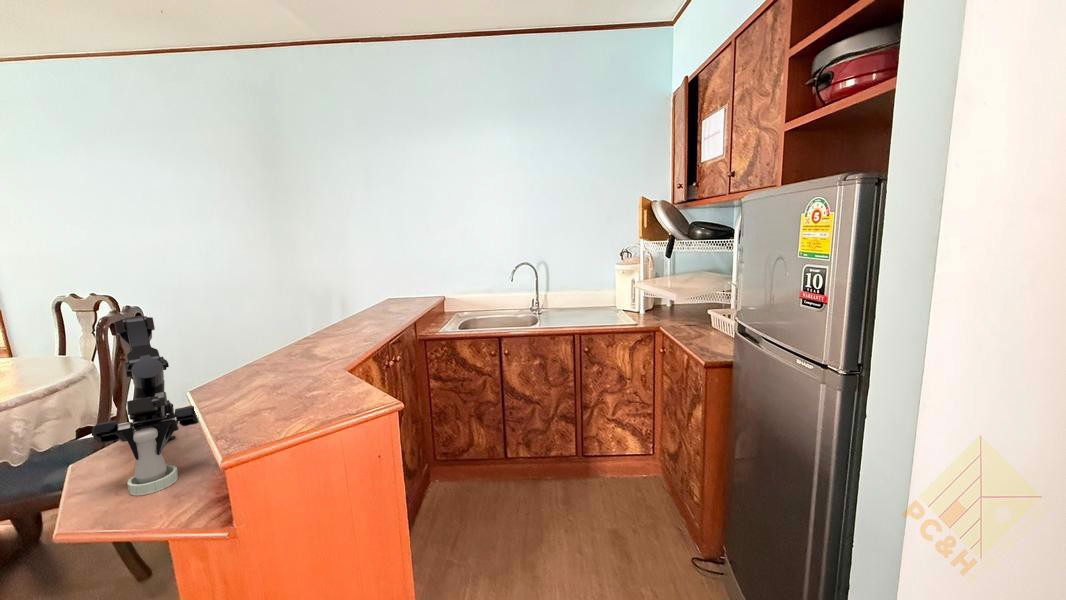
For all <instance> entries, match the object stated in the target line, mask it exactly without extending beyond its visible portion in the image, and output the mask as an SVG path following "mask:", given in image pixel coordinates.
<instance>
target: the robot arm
mask: <svg viewBox="0 0 1066 600" xmlns="http://www.w3.org/2000/svg"><path fill="white" fill-rule="evenodd" d="M114 328H115V333H116V336H120V341H121V343H122V344H123V345H125V346H126V347H128V348H129V350H130V351H129V352H128V353H126V359H127V362H123V364H124V370H125V376H126V378H130V380H132V382H133V386H134V391H133V393H134V395H133V399H132V400H128V401H127V402H126V405H127V406H126V408H127V415H128V416H129V419H130V421H128V422H122V423H119V422H118V421H117V419H115V420H110V421H105V422H100V423H96V424H95V425H94V426H93V427H92V429H91V436H92V437H93V438H94V439H95V440H96V441H97V443H98V444H105V443H110V442H116V441H118V440H120V442H123V443H124V442H127V443H128V445H129V447H130V449H131V452H132V454H133V456H134V458H135V461H136V460H138V451H137V446H138V443H136V442H134V439H133V436H134V434H135V433H136V432H137V431H139V430H141V429H145V428H155V429H157V431H158V436H157V437H156V438H155V440H156V442H157V455H160V454H162V452H163V450H164V448H165V446H166V444H167V443H168V442H170V441H171V440H174V439H176V438H177V437H176V435H173V433H174V432H176V431H179V429H180V428H179V427H180V426H182V427H188V426H192V425H197V424H198V423H199V422H200V421H199V417H198V418H197V415H196V413H195V411H194V407H195V406H194V405H189V406H184V407H178V408H175V409H174V403H172V402H171V401H170V399H168V397H167V392H166V391H165V379H164V378H165V373H164V371H166V370H167V368H169V367H170V365H169V361H168V360H167V359H166V358H164V356H161V355H160V353H159V350H158V348H157V349H156V348H155V347H152V345H151V340H152V338H153V331H155V328H156V327H155V321H154V318H153V317H149V316H146V315H137V316H131V317H130V316H129V317H125V318H120V319H119V320H118V321H117V320H116V321H114ZM131 420H132V422H131ZM178 424H179V425H180V426H179V425H178Z"/></svg>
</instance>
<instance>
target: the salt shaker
mask: <svg viewBox="0 0 1066 600" xmlns="http://www.w3.org/2000/svg"><path fill="white" fill-rule="evenodd" d="M157 436H158V431H157V429H155V428H145V429H141V430H139V431H138V430H136V432H135V434H134V436H133V439H134V442H136V443H138V446H137V451H138V460H136V459H135V468H134V469H135V470H134V475H135V479H136V480H137V481H138V482H139V483H140V484H146V483H150V482H154V481H156V480H159V479H161V478H164V476H165V473H166V470H167V465H168V464H166V460H165V459H164V457H163V455H162V454H163V453H161V454H160V455H157V442H156V440H155V438H156V437H157Z"/></svg>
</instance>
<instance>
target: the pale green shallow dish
mask: <svg viewBox="0 0 1066 600" xmlns="http://www.w3.org/2000/svg"><path fill="white" fill-rule="evenodd" d="M166 465H167V470H166V473H165V476H164V478H161V479H159V480H156V481H154V482H150V483H146V484H140V483H139V482H138V481H137V480H136V479H135V474H134V475H133V476H132V477H130V478H129V479H128V480H127V483H126V484H127V489H128V492H129V495H131V496H138V497H140V496H145V495H151V494H154V493H156V492H157V493H158V492H159V491H160V492H161V491H162V490H165V489H166V488H168V487H170V486H172V485H174V484H175V483H176V482H177V481H178V480H179V479H178V478H179V477H178V476H179V474H178V468H177V466H176V465H173V464H172V465H171V464H166Z"/></svg>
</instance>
